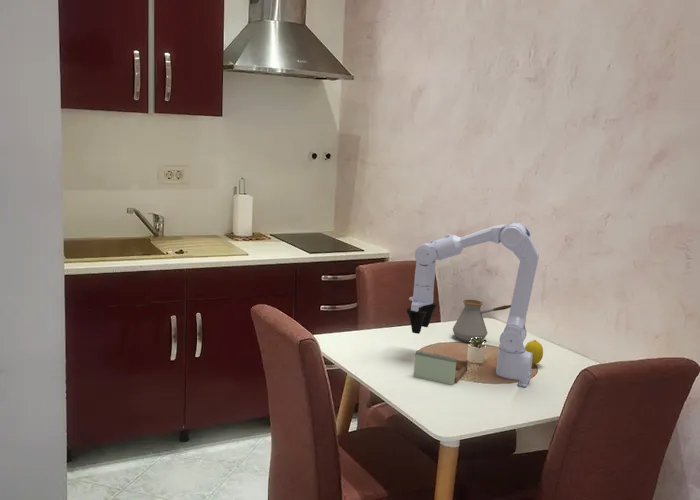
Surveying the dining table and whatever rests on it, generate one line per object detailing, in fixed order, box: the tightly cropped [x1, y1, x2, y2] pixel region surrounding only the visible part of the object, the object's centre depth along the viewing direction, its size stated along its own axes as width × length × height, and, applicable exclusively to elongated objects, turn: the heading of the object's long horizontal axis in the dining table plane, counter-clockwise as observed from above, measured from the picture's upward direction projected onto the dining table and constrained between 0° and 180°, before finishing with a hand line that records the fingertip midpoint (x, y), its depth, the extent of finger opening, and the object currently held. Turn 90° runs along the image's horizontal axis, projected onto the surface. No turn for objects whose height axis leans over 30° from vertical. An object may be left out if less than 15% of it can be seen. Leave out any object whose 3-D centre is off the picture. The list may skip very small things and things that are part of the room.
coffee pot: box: [452, 299, 511, 343], centre depth 217 cm, size 21×12×15 cm, turn 62°
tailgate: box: [413, 350, 458, 386], centre depth 177 cm, size 11×1×7 cm, turn 66°
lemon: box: [524, 339, 544, 366], centre depth 198 cm, size 6×6×8 cm
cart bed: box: [426, 351, 469, 384], centre depth 184 cm, size 12×11×4 cm
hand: (420, 329), depth 194 cm, fingers open, 7 cm apart
